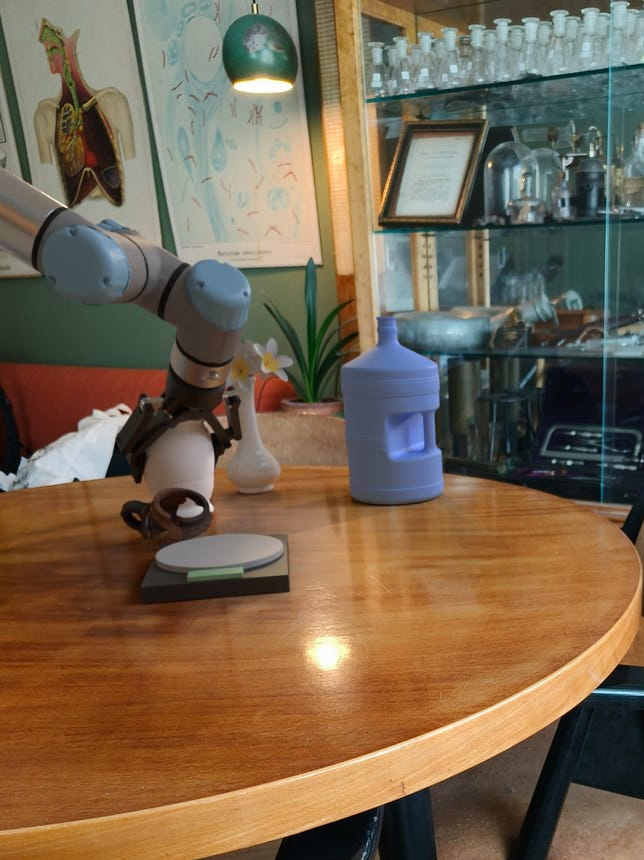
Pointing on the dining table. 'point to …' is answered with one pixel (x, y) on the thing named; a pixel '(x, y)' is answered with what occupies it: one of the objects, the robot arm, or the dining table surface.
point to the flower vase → (253, 417)
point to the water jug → (391, 422)
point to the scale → (218, 568)
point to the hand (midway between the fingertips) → (172, 471)
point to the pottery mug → (168, 515)
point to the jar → (182, 463)
